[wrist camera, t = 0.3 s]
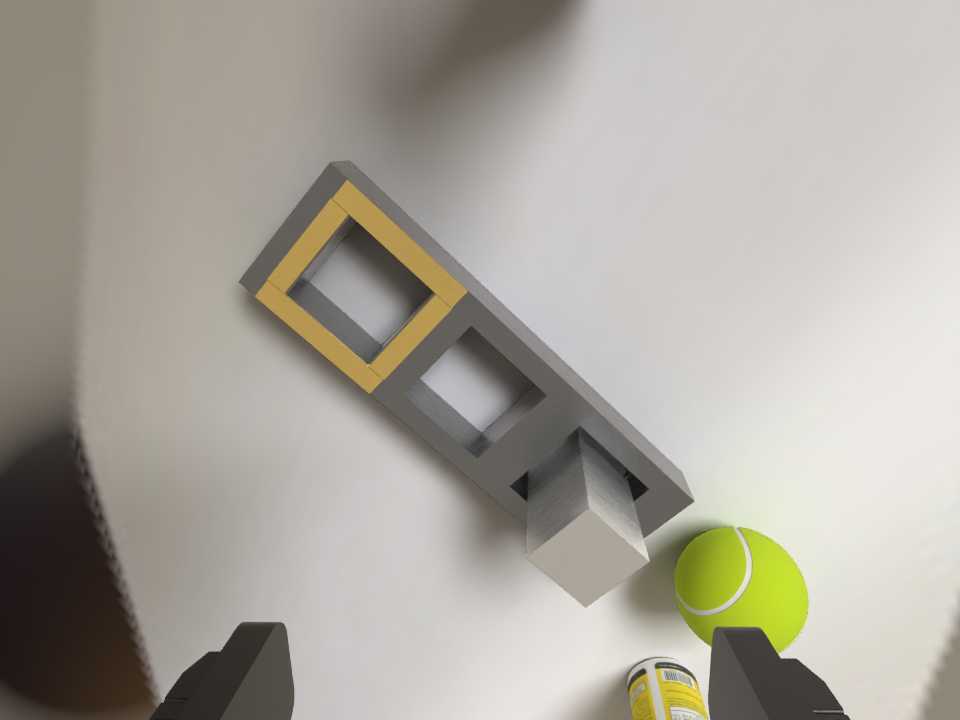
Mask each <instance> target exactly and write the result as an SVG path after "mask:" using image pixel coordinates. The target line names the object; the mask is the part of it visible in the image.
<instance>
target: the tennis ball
mask: <svg viewBox="0 0 960 720" xmlns="http://www.w3.org/2000/svg"><path fill="white" fill-rule="evenodd" d="M674 593H675V598H676V602H677V605H678V607H679V610H680V612H681V614H682V616H683V618H684V619H685V621H686V622H687V624H688V625H689V627H690V628H691V629H692V630H693V632H694V633H695V634H696V635H697V636H698V637H699V638H701V639H702V640H703V641H704V642H705V643H707V644H708V645H710V646H711V647H712V636H713V631H714V629H715V627H759V628H761V629H762V630H763V631H764V633H765V634H766V636H767V637H768V639H769V641H770V642H771V644H772V645H773V647H774V649H775V650H776V652H777V654H778V653H780V652H782V651H783V650H785V649H786V648H787V647H789V646H790V645H791V644H792V643H793V642H794V641H795V640H796V639H797V637H798V636H799V635H800V633H801V631H802V629H803V627H804V625H805V622H806V618H807V614H808V593H807V588H806V585H805V582H804V579H803V576H802V574H801V572H800V570H799V568H798V567H797V565H796V563H795V562H794V560H793V559H792V558H791V557H790V555H789V554H788V553H787V552H786V551H785V550H784V549H783V548H782V547H781V546H779V545H778V544H777V543H776V542H774V541H773V540H771V539H770V538H768V537H766V536H765V535H763V534H761V533H759V532H756V531H753V530H750V529H747V528H742V527H739V528H736V527H721V528H716V529H712V530H709V531H707V532H705V533H703V534H701V535H699V536H698V537H696V538H695V539H694V540H692V541H691V542H690V543H689V544H688V545H687V547H686V548H685V549H684V551H683V552H682V554H681V555H680V557H679V559H678V562H677V565H676V568H675V572H674Z"/></svg>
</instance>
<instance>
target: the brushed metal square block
mask: <svg viewBox="0 0 960 720" xmlns="http://www.w3.org/2000/svg"><path fill="white" fill-rule="evenodd" d="M526 558H527V559H528V560H529V561H531V562H532V563H533V564H534V565H535V566H536V567H538V568H539V569H540V570H541V571H542V572H544V573H545V574H546V575H547V576H548V577H550V578H551V579H552V580H553V581H554V582H556V583H557V584H558V585H559V586H560V587H562V588H563V589H564V590H565V591H566V592H568V593H569V594H570V595H571V596H572V597H573V598H575V599H576V600H577V601H578V602H579V603H581V604H582V605H583V606H584V607H585V608H586V607H587V606H589V605H590V604H592V603H593V602H594V601H596V600H597V599H599V598H600V597H601V596H603V595H604V594H606V593H607V592H608V591H610V590H611V589H613V588H614V587H615V586H617V585H618V584H620V583H621V582H622V581H624V580H625V579H627V578H628V577H629V576H631V575H632V574H634V573H635V572H636V571H638V570H639V569H641V568H642V567H643V566H645V565H646V564H648V563H649V562H650V560H649V557H648V553H647V549H646V546H645V542H644V538H643V535H642V531H641V527H640V523H639V520H638V516H637V512H636V509H635V505H634V501H633V498H632V494H631V490H630V486H629V483H628V479H627V475H626V472H625V468H624V465H623V464H621V463H620V462H619V461H618V460H617V459H616V458H615V457H614V456H613V455H612V454H611V453H609V452H608V451H607V450H606V449H605V448H604V447H603V446H602V445H601V444H600V443H599V442H597V441H596V440H595V439H594V438H593V437H592V436H591V435H590V434H589V433H588V432H587V431H585V430H584V429H583V428H582V427H581V426H579V427H578V428H577V429H576V430H575V431H574V432H572V433H571V434H570V435H569V436H568V437H567V438H565V439H564V440H563V441H562V442H561V443H560V444H558V445H557V446H556V447H555V448H554V449H552V450H551V451H550V452H549V453H548V454H547V455H545V456H544V457H543V458H542V459H541V460H540V461H538V462H537V463H536V464H535V465H534V466H533V467H531V468H530V469H529V470H528V506H527V544H526Z"/></svg>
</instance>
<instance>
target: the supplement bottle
mask: <svg viewBox="0 0 960 720" xmlns="http://www.w3.org/2000/svg"><path fill="white" fill-rule="evenodd" d="M627 686H628V694H629V699H630V705H631V711H632V716H633V720H708V716H707V713H706V710H705V707H704V703H703V700H702V697H701V694H700V690H699V687H698V684H697V681H696V678H695V676H694V674H693V672H692V671H691V670H690V669H689V668H688V667H687V666H686V665H685V664H683V663H682V662H680V661H677V660H675V659H671V658H653V659H649V660H646V661H644V662H642V663H640V664H638V665H637V666H636V667H635V668H634V669H633V670H632V671H631V672H630V674H629V677H628V681H627Z"/></svg>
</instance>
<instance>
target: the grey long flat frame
mask: <svg viewBox="0 0 960 720" xmlns="http://www.w3.org/2000/svg"><path fill="white" fill-rule="evenodd" d="M357 222H358V223H359V224H360V225H361V226H362V227H364V228H365V229H366V230H367V231H368V232H369V233H370V234H371V235H372V236H373V237H374V238H376V239H377V240H378V241H379V242H380V243H381V244H382V245H383V246H384V247H385V248H386V249H388V250H389V251H390V252H391V253H392V254H393V255H394V256H395V257H396V258H397V259H398V260H400V261H401V262H402V263H403V264H404V265H405V266H406V267H407V268H408V269H409V270H410V271H412V272H413V273H414V274H415V275H416V276H417V277H418V278H419V279H420V280H421V281H422V282H424V283H425V284H426V285H427V286H428V287H429V288H430V289H431V290H432V291H433V292H432V293H431V294H430V295H429V296H428V297H427V298H426V299H425V300H424V301H423V302H422V303H421V304H420V306H419V307H418V308H417V309H416V310H415V311H414V312H413V313H412V314H411V315H410V316H409V317H408V318H407V320H406V321H405V322H404V323H403V324H402V325H401V326H400V327H399V328H398V329H397V330H396V331H395V332H394V334H393V335H392V336H391V337H390V338H389V339H388V340H387V341H386V342H385V343H384V344H383V345H382V346H381V345H380V344H379V343H378V342H377V341H376V340H374V339H373V338H372V337H371V336H370V335H369V334H368V333H366V332H365V331H364V330H363V329H362V328H361V327H360V326H358V325H357V324H356V323H355V322H354V321H353V320H352V319H350V318H349V317H348V316H347V315H346V314H345V313H344V312H342V311H341V310H340V309H339V308H338V307H337V306H336V305H334V304H333V303H332V302H331V301H330V300H329V299H328V298H326V297H325V296H324V295H323V294H322V293H321V292H320V291H318V290H317V289H316V288H315V287H314V286H313V285H312V284H310V283H309V282H308V281H309V280H310V279H311V277H312V276H313V275H314V274H315V273H316V271H317V270H318V269H319V268H320V266H321V265H322V264H323V263H324V262H325V260H326V259H327V258H328V257H329V256H330V254H331V253H332V252H333V251H334V249H335V248H336V247H337V246H338V245H339V243H340V242H341V241H342V240H343V239H344V237H345V236H346V235H347V234H348V232H349V231H350V230H351V229H352V228H353V226H354V225H355V224H356V223H357ZM239 283H240V284H242V285H243V286H244V287H245V288H246V289H247V290H249V291H250V292H251V293H252V294H253V295H255V297H256V298H257V299H258V300H259V301H261V302H262V303H263V304H264V305H265V306H266V307H268V308H269V309H270V310H271V311H272V312H273V313H275V314H276V315H277V316H278V317H279V318H280V319H282V320H283V321H284V322H285V323H286V324H288V325H289V326H290V327H291V328H292V329H293V330H295V331H296V332H297V333H298V334H299V335H300V336H302V337H303V338H304V339H305V340H306V341H308V342H309V343H310V344H311V345H312V346H313V347H315V348H316V349H317V350H318V351H319V352H320V353H322V354H323V355H324V356H325V357H326V358H328V359H329V360H330V361H331V362H332V363H333V364H335V365H336V366H337V367H338V368H339V369H340V370H342V371H343V372H344V373H345V374H346V375H347V376H349V377H350V378H351V379H352V380H353V381H355V382H356V383H357V384H358V385H359V386H360V387H362V388H363V389H364V390H365V391H366V392H367V393H369V394H371V395H372V396H373V397H374V398H376V399H377V400H378V401H379V402H380V403H381V404H383V405H384V406H385V407H386V408H387V409H388V410H390V411H391V412H392V413H393V414H394V415H396V416H397V417H398V418H399V419H400V420H401V421H403V422H404V423H405V424H406V425H407V426H408V427H410V428H411V429H412V430H413V431H414V432H415V433H417V434H418V435H419V436H420V437H421V438H423V439H424V440H425V441H426V442H427V443H428V444H430V445H431V446H432V447H433V448H434V449H435V450H437V451H438V452H439V453H440V454H441V455H443V456H444V457H445V458H446V459H447V460H448V461H450V462H451V463H452V464H453V465H454V466H455V467H457V468H458V469H459V470H460V471H461V472H462V473H464V474H465V475H466V476H467V477H468V478H470V479H471V480H472V481H473V482H474V483H475V484H477V485H478V486H479V487H480V488H481V489H482V490H484V491H485V492H486V493H487V494H488V495H490V496H491V497H492V498H493V499H494V500H495V501H497V502H498V503H499V504H500V505H501V506H502V507H504V508H505V509H506V510H507V511H508V512H509V513H511V514H512V515H513V516H514V517H515V518H517V519H518V520H519V521H520V522H521V523H522V524H524V525H525V526H526V527H527V506H528V473H526V472H527V471H528V470H529V469H530V468H531V467H533V466H534V465H535V464H536V463H537V462H538V461H540V460H541V459H542V458H543V457H544V456H545V455H547V454H548V453H549V452H550V451H551V450H552V449H554V448H555V447H556V446H557V445H558V444H560V443H561V442H562V441H563V440H564V439H565V438H567V437H568V436H569V435H570V434H571V433H572V432H574V431H575V430H576V429H577V428H578V427H579V426H581V427H582V428H583V429H584V430H585V431H587V432H588V433H589V434H590V435H591V436H592V437H593V438H594V439H595V440H596V441H597V442H599V443H600V444H601V445H602V446H603V447H604V448H605V449H606V450H607V451H608V452H609V453H611V454H612V455H613V456H614V457H615V458H616V459H617V460H618V461H619V462H620V463H621V464H623V465H624V466H625V467H626V468H627V469H628V470H629V471H628V472H626V475H627V479H628V483H629V486H630V490H631V494H632V498H633V501H634V505H635V509H636V512H637V516H638V520H639V523H640V527H641V531H642V535H643V538H645V537H647V536H648V535H649V534H651V533H652V532H653V531H655V530H656V529H657V528H659V527H660V526H662V525H663V524H664V523H666V522H667V521H668V520H670V519H671V518H672V517H674V516H675V515H677V514H678V513H679V512H681V511H682V510H683V509H685V508H686V507H687V506H689V505H690V504H692V503H693V502H694V499H693V496H692V494H691V492H690V490H689V487H688V485H687V483H686V480H685V478H684V476H683V474H682V472H681V471H680V470H679V469H678V468H677V467H676V466H675V465H674V464H673V463H672V462H670V461H669V460H668V459H667V458H666V457H665V456H664V455H663V454H662V453H661V452H660V451H659V450H658V449H657V448H656V447H654V446H653V445H652V444H651V443H650V442H649V441H648V440H647V439H646V438H645V437H644V436H643V435H642V434H641V433H640V432H638V431H637V430H636V429H635V428H634V427H633V426H632V425H631V424H630V423H629V422H628V421H627V420H626V419H625V418H624V417H622V416H621V415H620V414H619V413H618V412H617V411H616V410H615V409H614V408H613V407H612V406H611V405H610V404H609V403H608V402H606V401H605V400H604V399H603V398H602V397H601V396H600V395H599V394H598V393H597V392H596V391H595V390H594V389H593V388H592V387H590V386H589V385H588V384H587V383H586V382H585V381H584V380H583V379H582V378H581V377H580V376H579V375H578V374H577V373H576V372H574V371H573V370H572V369H571V368H570V367H569V366H568V365H567V364H566V363H565V362H564V361H563V360H562V359H561V358H560V357H558V356H557V355H556V354H555V353H554V352H553V351H552V350H551V349H550V348H549V347H548V346H547V345H546V344H545V343H544V342H542V341H541V340H540V339H539V338H538V337H537V336H536V335H535V334H534V333H533V332H532V331H531V330H530V329H529V328H528V327H526V326H525V325H524V324H523V323H522V322H521V321H520V320H519V319H518V318H517V317H516V316H515V315H514V314H513V313H512V312H510V311H509V310H508V309H507V308H506V307H505V306H504V305H503V304H502V303H501V302H500V301H499V300H498V299H497V298H496V297H494V296H493V295H492V294H491V293H490V292H489V291H488V290H487V289H486V288H485V287H484V286H483V285H482V284H481V283H480V282H478V281H477V280H476V279H475V278H474V277H473V276H472V275H471V274H470V273H469V272H468V271H467V270H466V269H465V268H464V267H462V266H461V265H460V264H459V263H458V262H457V261H456V260H455V259H454V258H453V257H452V256H451V255H450V254H449V253H448V252H446V251H445V250H444V249H443V248H442V247H441V246H440V245H439V244H438V243H437V242H436V241H435V240H434V239H433V238H432V237H430V236H429V235H428V234H427V233H426V232H425V231H424V230H423V229H422V228H421V227H420V226H419V225H418V224H417V223H416V222H414V221H413V220H412V219H411V218H410V217H409V216H408V215H407V214H406V213H405V212H404V211H403V210H402V209H401V208H400V207H398V206H397V205H396V204H395V203H394V202H393V201H392V200H391V199H390V198H389V197H388V196H387V195H386V194H385V193H384V192H382V191H381V190H380V189H379V188H378V187H377V186H376V185H375V184H374V183H373V182H372V181H371V180H370V179H369V178H368V177H366V176H365V175H364V174H363V173H362V172H361V171H360V170H359V169H358V168H357V167H356V166H355V165H354V164H353V163H352V162H350V161H341V162H330V163H329V165H328V166H327V167H326V169H325V170H324V171H323V173H322V174H321V175H320V176H319V178H318V179H317V180H316V182H315V183H314V184H313V186H312V187H311V188H310V189H309V191H308V192H307V193H306V195H305V196H304V197H303V199H302V200H301V201H300V202H299V204H298V205H297V206H296V208H295V209H294V210H293V212H292V213H291V214H290V215H289V217H288V218H287V219H286V221H285V222H284V223H283V225H282V226H281V227H280V228H279V230H278V231H277V232H276V234H275V235H274V236H273V238H272V239H271V240H270V241H269V243H268V244H267V245H266V247H265V248H264V249H263V251H262V252H261V253H260V255H259V256H258V257H257V258H256V260H255V261H254V262H253V264H252V265H251V266H250V268H249V269H248V270H247V271H246V273H245V274H244V275H243V277H242V278H241V279H240V281H239ZM470 326H472V327H473V328H474V329H475V330H476V331H477V332H478V333H480V334H481V335H482V336H483V337H484V338H485V339H486V340H487V341H488V342H489V343H490V344H492V345H493V346H494V347H495V348H496V349H497V350H498V351H499V352H500V353H501V354H502V355H504V356H505V357H506V358H507V359H508V360H509V361H510V362H511V363H512V364H513V365H515V366H516V367H517V368H518V369H519V370H520V371H521V372H522V373H523V374H524V375H525V376H527V377H528V378H529V379H530V380H531V381H532V382H533V383H534V384H535V385H534V386H533V387H532V388H531V389H530V390H529V391H528V392H526V393H525V394H524V395H523V396H522V397H521V398H520V399H519V400H518V401H517V402H516V403H514V404H513V405H512V406H511V407H510V408H509V409H508V410H507V411H506V412H505V413H504V414H503V415H501V416H500V417H499V418H498V419H497V420H496V421H495V422H494V423H493V424H492V425H491V426H489V427H488V428H487V429H486V430H485V431H484V432H483V433H481V432H480V431H478V430H477V429H476V428H475V427H474V426H473V425H472V424H470V423H469V422H468V421H467V420H466V419H465V418H464V417H462V416H461V415H460V414H459V413H458V412H457V411H456V410H454V409H453V408H452V407H451V406H450V405H449V404H448V403H446V402H445V401H444V400H443V399H442V398H441V397H440V396H438V395H437V394H436V393H435V392H434V391H433V390H432V389H430V388H429V387H428V386H427V385H426V384H425V383H424V382H422V381H421V380H420V379H419V378H420V377H421V376H422V375H423V374H424V373H425V372H426V371H427V370H428V369H429V368H430V367H431V366H432V365H433V364H434V363H435V362H436V361H437V360H438V359H439V358H440V357H441V356H442V355H443V354H444V353H445V352H446V351H447V350H448V349H449V348H450V347H451V346H452V345H453V344H454V343H455V342H456V341H457V340H458V339H459V337H460V336H461V335H462V334H463V333H464V332H465V331H466V330H467V329H468V328H469V327H470Z"/></svg>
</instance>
